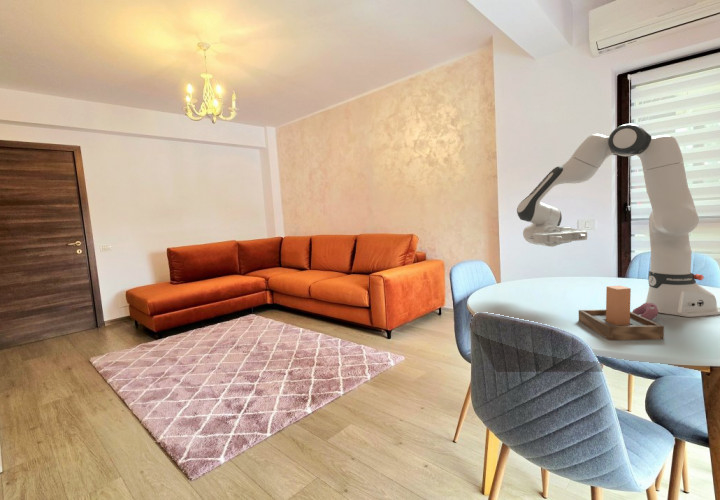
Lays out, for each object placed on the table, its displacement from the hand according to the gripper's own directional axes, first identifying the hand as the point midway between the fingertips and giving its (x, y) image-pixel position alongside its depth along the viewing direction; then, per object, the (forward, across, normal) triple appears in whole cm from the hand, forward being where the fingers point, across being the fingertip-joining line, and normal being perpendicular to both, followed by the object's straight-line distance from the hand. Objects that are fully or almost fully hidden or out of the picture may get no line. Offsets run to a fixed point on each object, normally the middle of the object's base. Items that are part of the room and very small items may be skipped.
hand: (572, 238), depth 131 cm
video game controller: (+15, +16, +29) cm, 36 cm away
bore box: (+22, -1, +28) cm, 36 cm away
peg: (+22, 0, +28) cm, 36 cm away
